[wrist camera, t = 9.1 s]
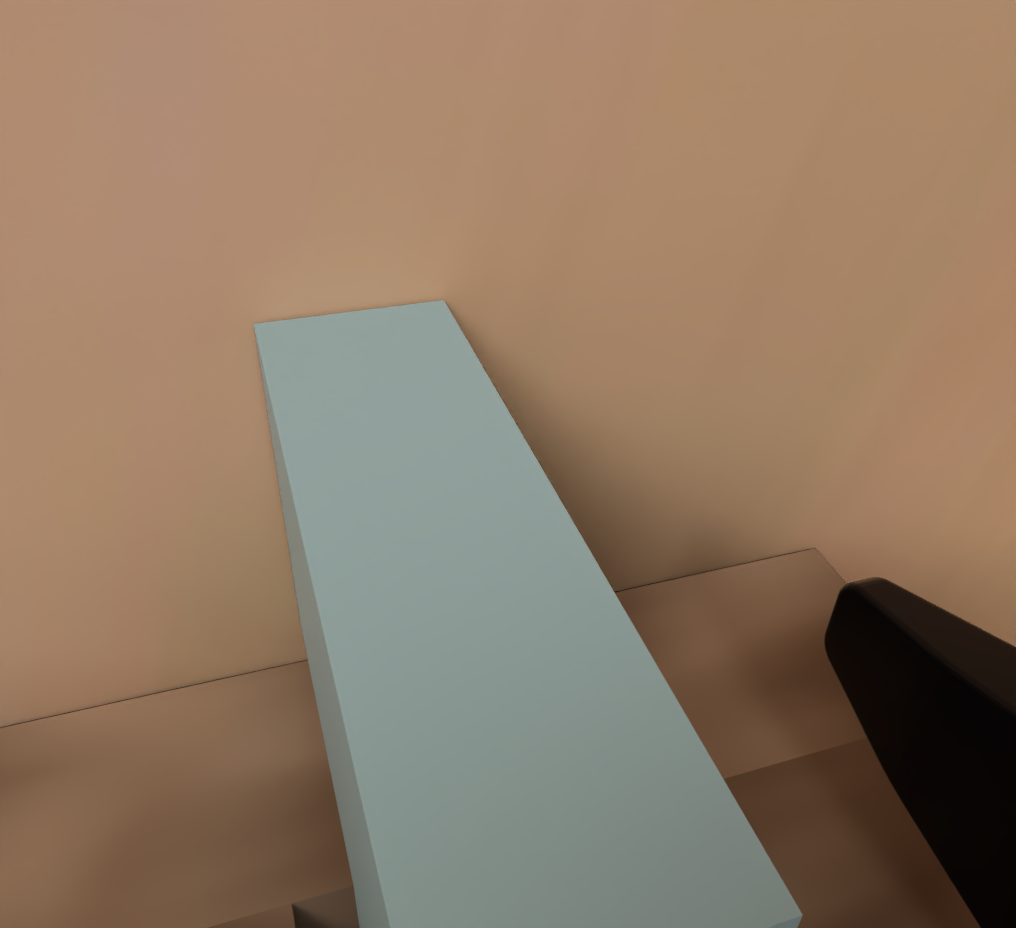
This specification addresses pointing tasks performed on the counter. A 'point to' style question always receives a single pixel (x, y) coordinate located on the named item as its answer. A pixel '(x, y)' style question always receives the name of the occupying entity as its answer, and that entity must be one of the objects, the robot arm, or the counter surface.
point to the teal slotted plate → (482, 659)
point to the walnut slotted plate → (313, 807)
